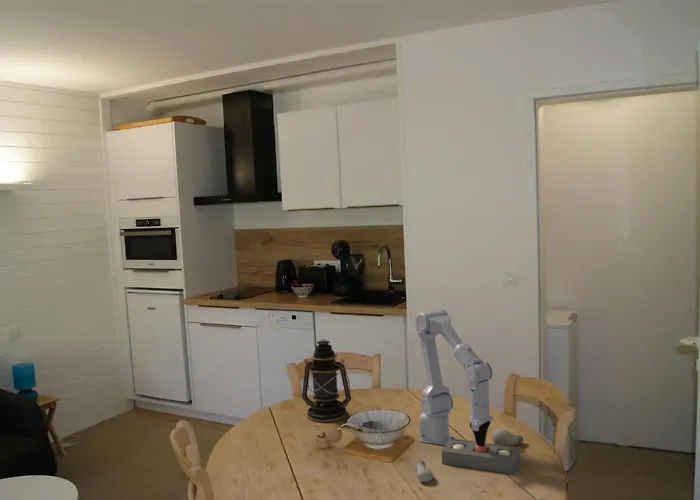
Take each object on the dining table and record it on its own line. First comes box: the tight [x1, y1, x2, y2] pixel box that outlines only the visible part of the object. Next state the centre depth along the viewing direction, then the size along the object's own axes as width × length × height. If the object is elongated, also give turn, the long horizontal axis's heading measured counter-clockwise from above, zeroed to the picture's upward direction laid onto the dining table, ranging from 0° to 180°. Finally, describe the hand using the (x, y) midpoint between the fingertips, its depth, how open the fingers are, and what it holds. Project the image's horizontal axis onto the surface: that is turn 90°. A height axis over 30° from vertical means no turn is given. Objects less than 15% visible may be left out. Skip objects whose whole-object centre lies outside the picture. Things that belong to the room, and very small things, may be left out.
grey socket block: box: [441, 438, 522, 475], centre depth 177 cm, size 22×10×4 cm, turn 65°
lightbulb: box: [492, 428, 524, 446], centre depth 187 cm, size 6×6×11 cm
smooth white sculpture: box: [414, 459, 434, 483], centre depth 169 cm, size 4×8×5 cm
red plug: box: [475, 443, 487, 453], centre depth 177 cm, size 4×4×4 cm
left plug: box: [453, 444, 464, 450], centre depth 180 cm, size 4×4×4 cm
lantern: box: [301, 338, 352, 423], centre depth 222 cm, size 20×16×30 cm
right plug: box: [498, 450, 510, 456], centre depth 174 cm, size 4×4×4 cm
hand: (480, 445), depth 177 cm, fingers closed, pressing on red plug
